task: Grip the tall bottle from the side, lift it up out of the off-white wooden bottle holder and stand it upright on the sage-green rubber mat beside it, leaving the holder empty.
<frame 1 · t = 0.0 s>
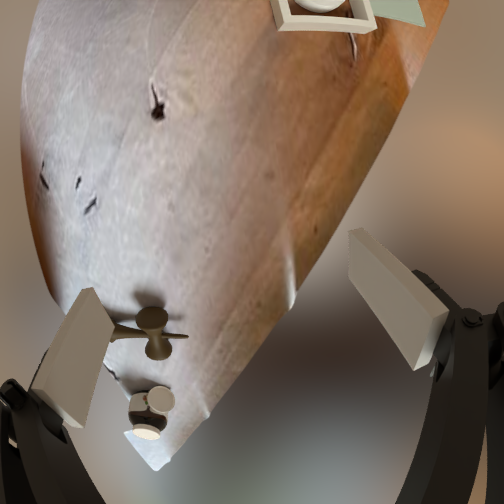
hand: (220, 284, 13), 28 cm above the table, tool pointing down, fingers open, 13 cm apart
kendama: (139, 322, 48), on the table
spread jar: (153, 393, 59), on the table
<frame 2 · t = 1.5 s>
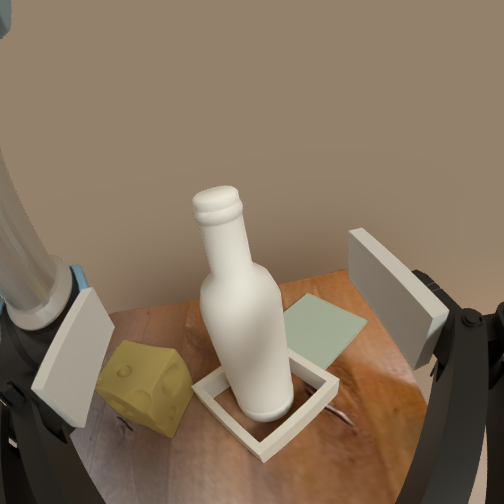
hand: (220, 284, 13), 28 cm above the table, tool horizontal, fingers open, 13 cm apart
bottle holder: (266, 400, 35), on the table
mat: (312, 330, 45), on the table
cheese: (159, 404, 36), on the table
bottle: (266, 400, 35), on the table
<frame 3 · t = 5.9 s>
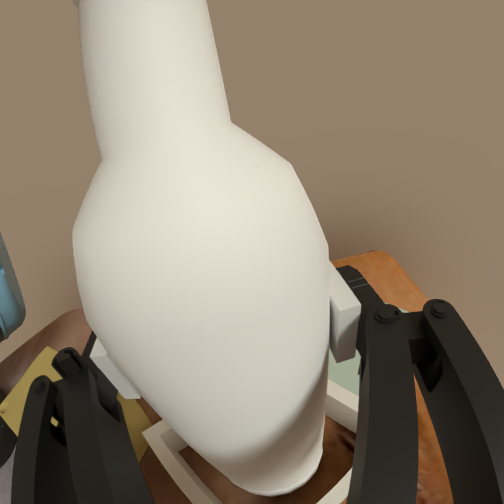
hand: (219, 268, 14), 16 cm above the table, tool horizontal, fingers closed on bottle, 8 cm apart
bottle holder: (273, 457, 17), on the table
mat: (343, 336, 28), on the table
cheese: (104, 447, 19), on the table
bottle: (273, 457, 17), on the table, touching gripper
when the fingers open (18 cm above the table, at t = 11.9 s): bottle drops 1 cm, resting on mat.
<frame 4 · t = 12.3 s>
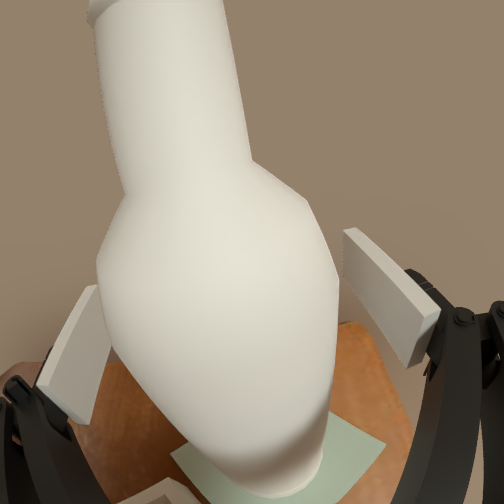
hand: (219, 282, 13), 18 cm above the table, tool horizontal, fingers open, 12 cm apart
mat: (275, 462, 18), on the table
bottle: (274, 461, 18), resting on mat
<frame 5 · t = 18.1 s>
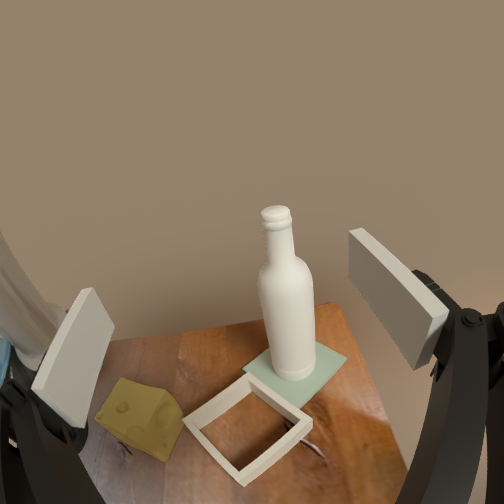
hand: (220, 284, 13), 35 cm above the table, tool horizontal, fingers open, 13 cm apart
bottle holder: (248, 432, 36), on the table
mat: (294, 366, 47), on the table
cheese: (154, 432, 38), on the table
bottle: (294, 365, 47), resting on mat
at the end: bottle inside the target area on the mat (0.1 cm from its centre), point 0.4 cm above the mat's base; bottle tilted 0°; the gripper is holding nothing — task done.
